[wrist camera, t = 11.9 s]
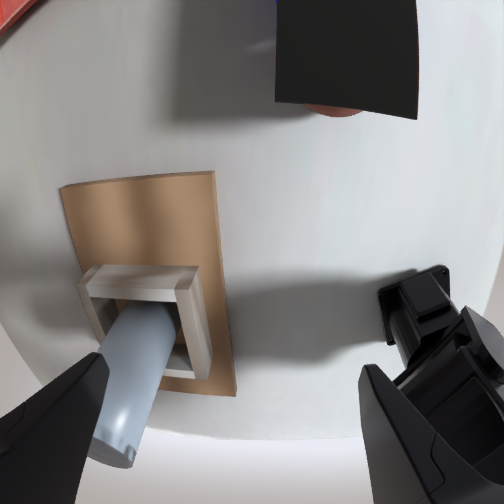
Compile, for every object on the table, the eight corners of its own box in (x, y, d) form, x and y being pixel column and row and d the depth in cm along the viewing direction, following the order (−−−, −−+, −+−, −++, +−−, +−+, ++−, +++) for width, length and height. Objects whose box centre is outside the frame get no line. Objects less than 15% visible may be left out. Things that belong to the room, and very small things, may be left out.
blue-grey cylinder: (193, 327, 24) (149, 471, 13) (148, 338, 26) (95, 464, 14) (162, 281, 22) (89, 428, 11) (118, 296, 24) (42, 423, 12)
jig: (214, 170, 19) (200, 187, 16) (236, 389, 30) (232, 420, 26) (67, 185, 20) (36, 202, 17) (131, 378, 31) (120, 405, 27)
